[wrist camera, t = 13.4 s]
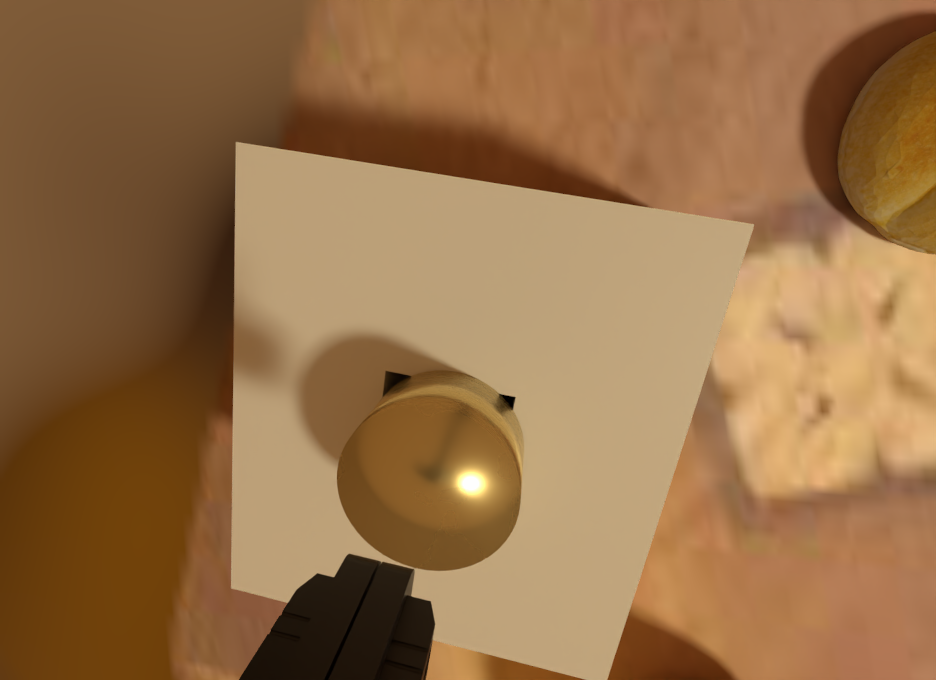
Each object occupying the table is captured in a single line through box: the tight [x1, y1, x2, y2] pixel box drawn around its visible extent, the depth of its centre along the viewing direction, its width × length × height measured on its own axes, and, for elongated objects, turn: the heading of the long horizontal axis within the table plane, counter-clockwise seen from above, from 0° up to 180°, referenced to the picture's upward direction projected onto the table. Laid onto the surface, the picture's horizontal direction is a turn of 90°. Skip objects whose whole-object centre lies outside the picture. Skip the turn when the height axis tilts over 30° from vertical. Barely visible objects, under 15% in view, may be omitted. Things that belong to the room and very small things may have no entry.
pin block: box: [231, 142, 754, 680], centre depth 22 cm, size 18×16×10 cm
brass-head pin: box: [337, 370, 524, 571], centre depth 20 cm, size 6×6×12 cm
